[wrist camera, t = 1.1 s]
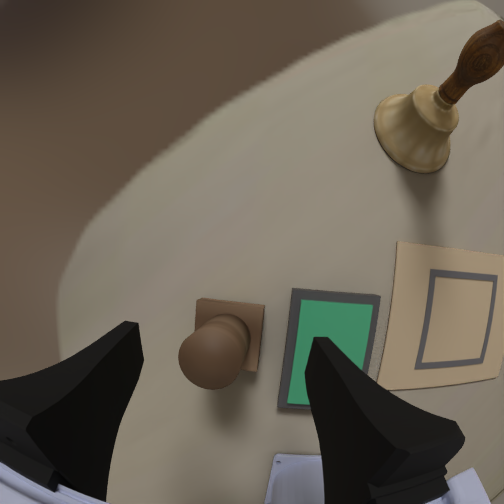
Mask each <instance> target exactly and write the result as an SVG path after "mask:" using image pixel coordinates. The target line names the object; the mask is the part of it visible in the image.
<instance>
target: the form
mask: <svg viewBox="0 0 504 504" xmlns="http://www.w3.org/2000/svg"><path fill="white" fill-rule="evenodd" d="M503 355H504V256H503V255H496V254H489V253H482V252H475V251H468V250H461V249H454V248H446V247H439V246H431V245H423V244H415V243H407V242H399V241H397V248H396V262H395V273H394V283H393V292H392V300H391V307H390V314H389V321H388V327H387V333H386V339H385V344H384V349H383V354H382V359H381V364H380V369H379V373H378V378H377V382H376V383H378V384H379V385H380V386H382V387H383V388H385V389H386V390H397V389H413V388H426V387H436V386H445V385H453V384H460V383H467V382H474V381H479V380H485V379H490V378H496V377H498V374H499V370H500V367H501V363H502V359H503Z"/></svg>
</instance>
